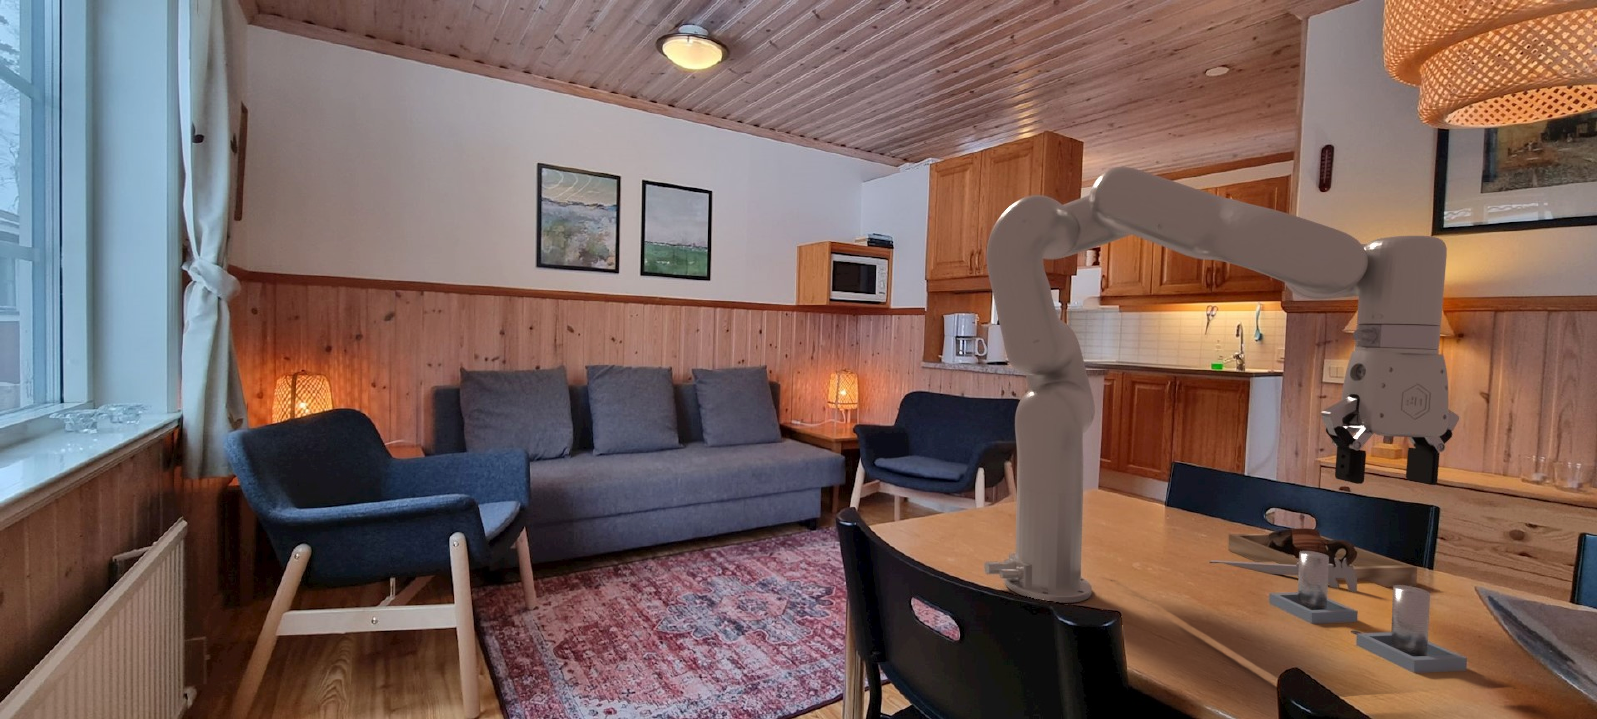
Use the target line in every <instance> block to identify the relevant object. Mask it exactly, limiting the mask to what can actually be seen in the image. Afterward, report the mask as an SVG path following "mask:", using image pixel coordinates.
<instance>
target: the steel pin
mask: <svg viewBox="0 0 1597 719" xmlns="http://www.w3.org/2000/svg"><path fill="white" fill-rule="evenodd" d="M1430 604H1431V592H1429V591H1427V590H1425V589H1423V588H1419V587H1416V586H1406V585H1394V586H1393V587H1392V608H1391V610H1392V611H1391V626H1390V627H1391V629H1390V630H1391V631H1390V632H1391V647H1393V648H1396V649H1398V650H1400V651H1402V652H1404V653H1406V654H1409V655H1411V656H1413V657H1416V656H1427V653H1428V641H1429V631H1430V630H1429V628H1430V627H1429V626H1430V624H1429V623H1430V608H1431V605H1430Z"/></svg>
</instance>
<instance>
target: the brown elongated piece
mask: <svg viewBox="0 0 1597 719" xmlns="http://www.w3.org/2000/svg"><path fill="white" fill-rule="evenodd" d="M1271 533H1272V532H1270V533H1229V534H1228V545H1227V546H1228V549H1227V550H1228V551H1229V552H1232V553H1234V554H1236V555H1239V556H1241V557H1244V558H1245V559H1248V560H1250V561H1253V562H1254V563H1271V562H1272V563H1275V564H1289V565H1296V564H1297V563H1298V562H1299V559H1298V558H1295V556H1294V555H1289V554H1286V553H1283V552H1280V551H1277V550H1274V549H1272V548H1269V547H1267V546H1268V544H1269V542H1270V539H1269V534H1271ZM1320 537H1321V538H1324V539H1325V540H1334V539H1332V538H1329V537H1326V536H1322V535H1321V534H1320ZM1326 548H1327V550H1328V547H1327V546H1326ZM1354 549H1355V550H1356V551H1357V557H1356V559H1355V560H1354V561H1353V562H1352V563H1351V564H1350V565H1351V566H1353V568H1354V571H1355V574H1356V577H1357V581H1358V580H1359V581H1361V580H1363V581H1366V582H1369V583H1372V584H1375V585H1378V586H1380V587H1383V588H1388V587H1392V588H1393V586H1394V585H1406V586H1412V587H1416V586H1417V583H1418V582H1417V581H1418V567H1417V566H1414V565H1412V564H1408V563H1407V562H1406V563H1405V562H1402V561H1400V560H1396V559H1393V558H1390V557H1387V556H1384V555H1381V554H1378V553H1376V552H1372V551H1369V550H1367V549H1363V548H1361V547H1360V548H1359V547H1357V546H1354ZM1345 554H1346V551H1345V549H1339V550H1338V551H1337V553H1336V554H1335V556H1336V557H1337V559H1342V558H1343V557H1344V556H1345ZM1337 580H1338V581H1346V579H1345V578H1337Z"/></svg>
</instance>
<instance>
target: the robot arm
mask: <svg viewBox="0 0 1597 719" xmlns="http://www.w3.org/2000/svg"><path fill="white" fill-rule="evenodd" d="M989 234H990V235H989V236H988V241H987V247H986V268H987V273H988V278H989V283H990V287H991V291H992V295H993V299H994V300H993V301H994V305H995V311H996V315H997V319H998V323H999V328H1000V331H1001V336H1002V340H1003V345H1004V346H1003V347H1004V350H1005V354H1006V357H1007V360H1008V362H1009V364H1010V365H1011V366H1012V368H1014V369H1015V370H1016V371H1017V372H1019V373H1021V374H1023V375H1025V378H1026V381H1027V385H1028V388H1029V389H1028V391H1027V392H1025V394H1023V395H1022V397H1021V399H1020V401H1019V402H1018V403H1017V404H1018V405H1017V407H1016V411H1015V416H1014V431H1015V442H1016V460H1017V463H1016V465H1017V466H1016V514H1015V515H1016V517H1015V518H1016V519H1015V547H1014V548H1015V549H1014V550H1015V552H1014V553H1009V554H1008V559H1007V558H1006V559H1004V560H1003V561H999V562H998V561H985V562H984V565H983V566H984V567H983V568H984V572H985V574H986V575H998V576H999V578H1000V579H1004V580H1003V581H1004V582H1003V583H1004V584H1005V586H1006V587H1007V588H1008V589H1009V590H1010V591H1012V592H1014V593H1016V594H1018V595H1020V596H1023V597H1026V596H1027V597H1026V598H1029V597H1031V598H1030V599H1032V598H1034V599H1033V600H1036V599H1044V600H1049V601H1054V602H1053V603H1056V602H1059V603H1060V604H1062V603H1063V604H1068V603H1071V604H1072V603H1079V602H1084V601H1086V600H1087V599H1090V597H1091V596H1092V594H1093V591H1092V590H1093V589H1092V585H1091V583H1090V582H1088V580H1087V579H1085V578H1083V577H1082V575H1081V574H1082V551H1083V550H1082V546H1083V545H1082V543H1083V541H1082V540H1083V513H1084V512H1083V510H1084V508H1083V506H1084V444H1083V442H1084V441H1083V440H1084V438H1083V436H1084V435H1083V434H1084V433H1085V432H1086V431H1087V430H1088V429H1089V428H1090V426H1091V425H1092V423H1093V420H1094V418H1095V412H1096V405H1095V400H1094V397H1093V393H1092V388H1091V384H1090V380H1089V377H1088V376H1089V375H1088V372H1087V368H1086V366H1085V361H1084V357H1083V353H1082V349H1081V346H1080V343H1079V340H1078V337H1077V335H1076V333H1075V332H1074V330H1073V329H1072V328H1071V326H1070V325H1069V324H1067V323H1066V322H1065V321H1063V320H1061V319H1060V318H1059V316H1058V312H1057V309H1056V306H1055V303H1054V299H1053V293H1052V289H1051V284H1050V282H1049V279H1048V276H1047V274H1046V271H1045V267H1044V265H1045V264H1044V259H1045V260H1058V259H1062V258H1063V259H1064V258H1067V257H1070V256H1072V255H1077V254H1080V253H1082V252H1085V251H1088V250H1091V249H1094V248H1097V247H1100V246H1103V245H1105V244H1110V243H1112V242H1115V241H1118V240H1121V239H1123V238H1127V237H1128V236H1131V235H1132V236H1134V237H1137V238H1140V239H1142V240H1145V241H1148V242H1150V243H1153V244H1156V245H1158V246H1161V247H1164V248H1167V249H1168V250H1171V251H1173V252H1177V253H1179V254H1181V255H1185V256H1187V257H1191V258H1194V259H1198V260H1211V261H1220V262H1225V263H1228V264H1232V265H1235V266H1238V267H1242V268H1245V269H1249V270H1252V271H1253V272H1254V271H1255V272H1257V273H1259V274H1263V275H1265V276H1268V277H1270V278H1273V279H1275V280H1278V281H1281V282H1283V283H1284V284H1285V285H1286V287H1287V288H1288V289H1289V290H1290V291H1291V292H1292V293H1293V294H1295V295H1296V296H1298V297H1301V298H1304V299H1307V300H1319V301H1320V300H1321V301H1323V300H1330V299H1331V300H1332V299H1339V298H1341V299H1342V298H1350V297H1352V298H1353V297H1358V301H1357V302H1358V304H1357V316H1356V328H1355V331H1353V333H1352V338H1353V340H1354V341H1355V342H1354V343H1355V344H1354V350H1352V351H1351V354H1350V357H1349V359H1348V363H1347V367H1346V371H1345V375H1344V379H1343V386H1342V392H1341V399H1340V401H1339V402H1336V403H1335V404H1333V405H1330V406H1328V407H1327V408H1325V409H1323V410H1321V412H1320V415H1321V418H1322V422H1323V424H1324V426H1325V427H1326V428H1325V432H1326V434H1327V435H1328V436H1329V438H1330V439H1331V444H1332V445H1333V446H1334V447H1336V456H1335V471H1334V472H1335V473H1334V476H1335V479H1336V480H1340V481H1345V482H1348V483H1352V484H1357V485H1362V484H1363V483H1364V482H1365V474H1366V463H1367V462H1366V461H1367V460H1366V459H1367V451H1366V450H1364V449H1363V450H1362V448H1363V447H1364V446H1365V444H1366V443H1367V442H1368V441H1369V439H1371V437H1372V436H1373V435H1374V434H1375V435H1377V436H1381V437H1394V438H1395V437H1396V438H1397V437H1399V438H1402V437H1404V438H1408V440H1409V442H1410V443H1411V444H1412V446H1413V447H1407V448H1408V450H1407V455H1406V456H1407V457H1406V470H1405V479H1407V480H1408V481H1411V482H1416V483H1419V484H1426V485H1429V486H1436V485H1437V484H1438V478H1439V477H1438V476H1439V466H1440V465H1439V464H1440V453H1442V452H1444V451H1445V449H1446V443H1447V442H1449V440H1451V438H1452V437H1453V432H1452V431H1454V430H1455V427H1456V426H1457V425H1458V423H1459V420H1460V416H1459V414H1457V413H1455V412H1454V411H1452V410H1451V409H1449V380H1448V372H1447V365H1446V360H1445V357H1444V354H1443V353H1442V354H1440V343H1441V342H1440V340H1441V330H1442V328H1441V325H1442V316H1443V306H1444V303H1443V302H1444V294H1445V292H1444V291H1445V282H1446V281H1445V279H1446V278H1445V277H1446V266H1447V255H1448V251H1447V250H1448V249H1447V245H1446V243H1445V242H1444V240H1443V239H1442V238H1439V237H1436V236H1432V235H1398V236H1397V235H1396V236H1388V237H1380V238H1377V239H1374V240H1371V241H1370V242H1368V243H1361V242H1360V241H1359V240H1358V239H1356V238H1355V237H1354V236H1352V235H1351V234H1348V233H1347V232H1344V231H1342V230H1339V229H1337V228H1333V227H1331V226H1328V225H1324V224H1321V223H1318V222H1315V221H1312V220H1310V219H1306V218H1303V217H1300V216H1296V215H1293V214H1290V213H1287V212H1284V211H1280V210H1277V209H1273V208H1269V207H1264V206H1261V205H1260V206H1259V205H1256V204H1252V203H1247V202H1244V201H1240V200H1237V199H1233V198H1227V197H1224V196H1221V195H1218V194H1214V193H1210V192H1207V191H1205V190H1201V189H1199V188H1195V187H1192V186H1188V185H1186V184H1183V183H1181V182H1178V181H1177V182H1176V181H1174V180H1171V179H1168V178H1165V177H1162V176H1159V175H1156V174H1152V173H1150V172H1147V171H1143V170H1141V169H1138V168H1134V167H1129V166H1128V167H1127V166H1119V167H1113V168H1111V169H1108V170H1107V171H1105V172H1103V173H1102V174H1101V175H1100V176H1098V177H1097V179H1096V180H1095V181H1094V183H1093V184H1092V187H1091V190H1090V192H1089V194H1088V195H1086V196H1084V197H1080V198H1078V199H1075V200H1071V201H1070V202H1067V203H1063V204H1062V203H1061V202H1059V201H1058V200H1057V199H1054V198H1052V197H1049V196H1047V195H1041V194H1040V195H1039V194H1035V195H1028V196H1025V197H1023V198H1020V199H1019V200H1016V201H1015V202H1014V203H1012V204H1011V205H1010V206H1009V207H1008V208H1006V209H1005V211H1003V213H1002V214H1001V215H1000V216H999V218H998V219H997V221H996V222H995V223H994V225H993V227H992V229H991V231H990V233H989ZM1354 434H1355V435H1354ZM1353 435H1354V436H1353Z"/></svg>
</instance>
